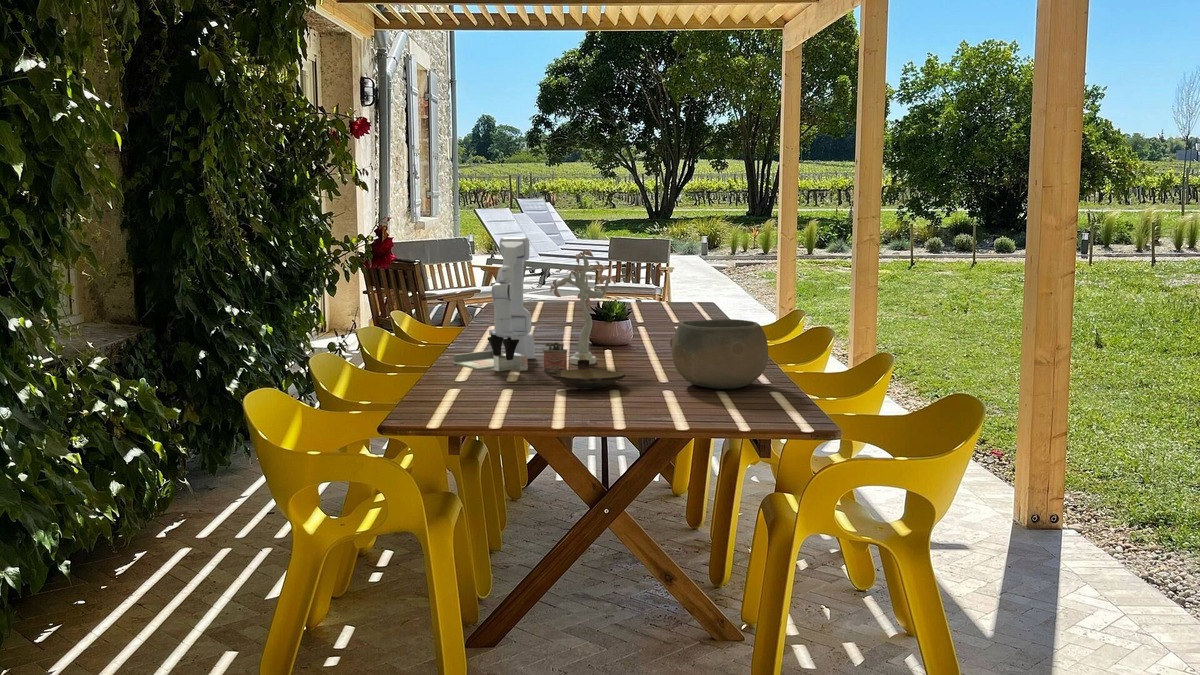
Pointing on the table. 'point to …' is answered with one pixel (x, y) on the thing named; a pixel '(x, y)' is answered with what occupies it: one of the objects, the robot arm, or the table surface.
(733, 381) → the clay pot
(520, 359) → the bracket
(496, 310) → the robot arm
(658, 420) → the table surface
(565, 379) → the oil lamp
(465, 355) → the arena
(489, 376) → the table surface
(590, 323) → the white tree stand
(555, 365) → the lighter
